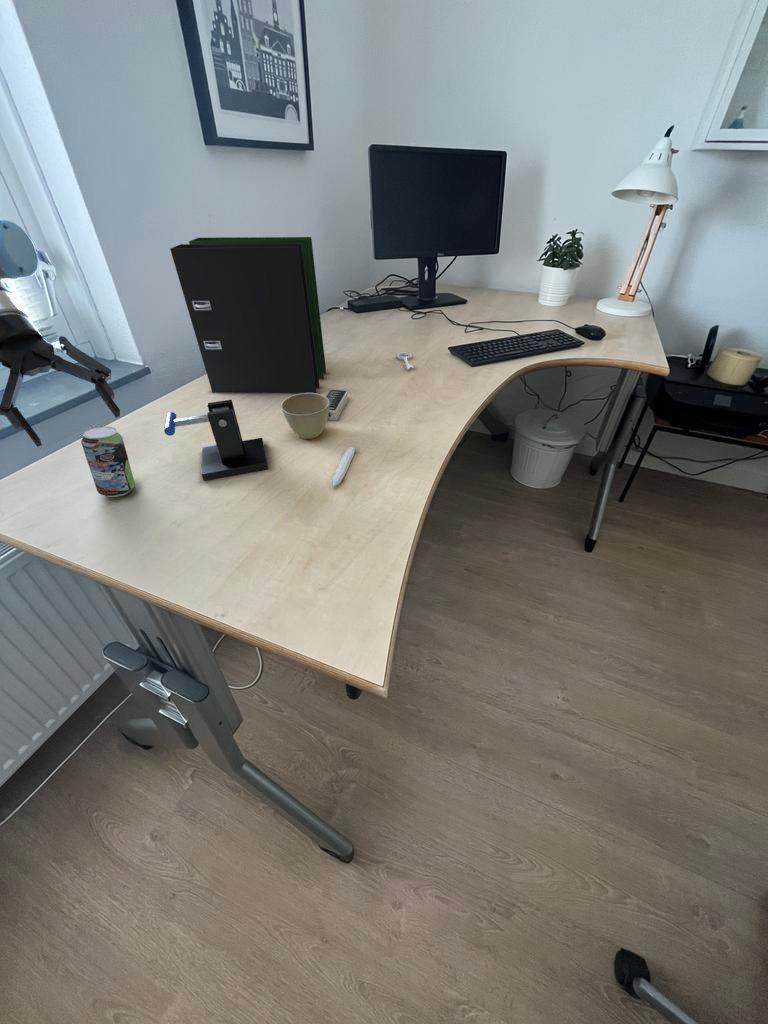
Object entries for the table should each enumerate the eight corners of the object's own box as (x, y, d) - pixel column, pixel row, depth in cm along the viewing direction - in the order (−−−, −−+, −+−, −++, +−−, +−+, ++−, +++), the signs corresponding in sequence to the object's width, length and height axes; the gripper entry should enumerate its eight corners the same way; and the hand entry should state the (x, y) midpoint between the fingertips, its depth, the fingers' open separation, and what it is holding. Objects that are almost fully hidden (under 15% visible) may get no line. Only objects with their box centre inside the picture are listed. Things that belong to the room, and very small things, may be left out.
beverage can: (93, 496, 78) (60, 438, 71) (127, 475, 83) (100, 419, 76) (117, 505, 76) (85, 447, 68) (150, 483, 81) (124, 426, 73)
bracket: (203, 480, 81) (183, 424, 74) (204, 453, 89) (186, 400, 81) (268, 469, 84) (255, 413, 76) (263, 443, 91) (251, 390, 84)
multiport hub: (348, 399, 107) (347, 390, 105) (336, 420, 98) (335, 411, 97) (331, 398, 107) (330, 389, 106) (318, 419, 99) (316, 409, 98)
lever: (166, 438, 76) (162, 426, 75) (169, 422, 81) (164, 410, 79) (232, 427, 79) (228, 415, 77) (231, 413, 83) (227, 401, 82)
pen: (329, 491, 78) (328, 483, 77) (349, 450, 89) (348, 443, 88) (338, 492, 78) (337, 484, 77) (356, 450, 88) (356, 443, 87)
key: (410, 354, 128) (396, 354, 128) (410, 351, 128) (396, 351, 128) (415, 370, 119) (400, 370, 119) (415, 367, 119) (400, 367, 119)
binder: (326, 372, 120) (312, 236, 99) (315, 395, 108) (295, 248, 88) (232, 370, 122) (198, 237, 101) (211, 393, 111) (168, 249, 90)
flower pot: (277, 440, 92) (271, 409, 88) (301, 419, 99) (297, 389, 95) (318, 449, 89) (314, 418, 84) (340, 426, 96) (337, 396, 91)
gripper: (82, 321, 87) (145, 411, 89) (-75, 358, 72) (5, 464, 74) (79, 296, 80) (148, 394, 82) (-92, 331, 66) (-5, 448, 68)
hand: (80, 428), depth 78 cm, fingers open, 13 cm apart
